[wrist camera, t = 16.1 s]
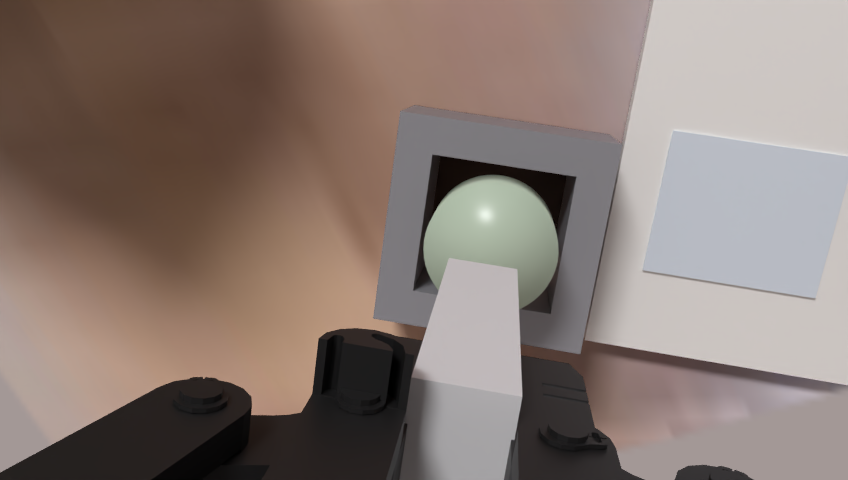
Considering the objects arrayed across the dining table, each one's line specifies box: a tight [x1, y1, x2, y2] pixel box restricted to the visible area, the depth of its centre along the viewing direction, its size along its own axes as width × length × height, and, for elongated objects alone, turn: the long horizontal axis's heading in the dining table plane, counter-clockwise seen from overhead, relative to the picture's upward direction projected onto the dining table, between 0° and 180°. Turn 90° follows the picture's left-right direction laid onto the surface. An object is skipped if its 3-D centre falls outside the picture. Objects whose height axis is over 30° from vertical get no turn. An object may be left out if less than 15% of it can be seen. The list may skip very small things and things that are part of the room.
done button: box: [423, 175, 559, 309], centre depth 24 cm, size 4×4×2 cm
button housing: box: [373, 105, 623, 354], centre depth 26 cm, size 7×7×4 cm
